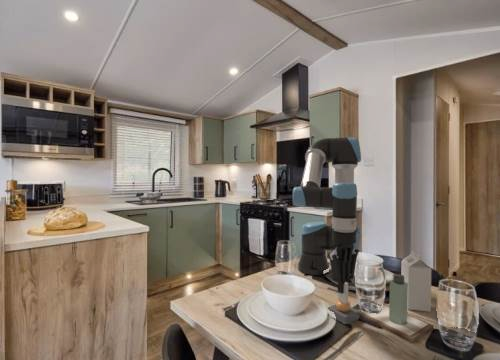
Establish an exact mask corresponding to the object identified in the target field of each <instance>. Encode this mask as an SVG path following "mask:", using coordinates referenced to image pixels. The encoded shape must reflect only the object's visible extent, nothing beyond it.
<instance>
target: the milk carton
mask: <svg viewBox="0 0 500 360" xmlns="http://www.w3.org/2000/svg"><path fill="white" fill-rule="evenodd" d="M421 258H422V257H421V255H419V254H418V253H417V252H415V251H414V250H411V253H410V254H409V255H407V256H406V257H404V258H403V259H402V260H401V261H400V262H401V264H400V265H401V268H400V269H401V272H400V273H401V274H400V275H403V276H404V282H406V283H408V299H407V311H408V310H410V311H419V312H420V311H421V312H432V310H431V309H432V307H431V306H432V302H431V301H432V268H431V266H429V265H428V264H427V263H425V262H424V261H423V260H422V259H421Z"/></svg>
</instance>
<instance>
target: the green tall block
mask: <svg viewBox="0 0 500 360" xmlns="http://www.w3.org/2000/svg"><path fill="white" fill-rule="evenodd" d="M392 276H393V277H392V280H390V281H389V304H388V306H389V320H392V321H394V322H396V323H398V324H400V325H402V324H403V323H405V322H407V314H408V309H407V299H408V283H406V282H404V276H403V275H401V274H399V273H394V274H393V275H392Z"/></svg>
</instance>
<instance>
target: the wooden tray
mask: <svg viewBox="0 0 500 360" xmlns="http://www.w3.org/2000/svg"><path fill="white" fill-rule="evenodd" d="M360 309H361V308H360ZM360 309H357V310H358V311H359V315H360V316H362V317H364V318H366V319H368V320H369V321H368V320H367V321H368V322H370V321H371V322H370V323H372V324H374V325H375V324H376V326H377V325H378V326H377V327H379V326H380V328H381V329H384V330H385V331H387V332H389V333H391V334H393V335H395V336H398V337H400V338H401V339H403V340H405V341H406V342H409V343H411V344H413V343H414V342H416V341H417V340H419V339H420V338H422V337H423V336H425V335H426V334H428V333H430V332H431V331H432V330H434V325H433V324H431V323H430V322H426V321H425V320H422V319H420V318H417V317H415V316H413V315H411V314H408V313H407V322H405V323H403V324H402V325H400V324H398V323H396V322H394V321H392V320H389V305H387V304H385V303H383V308H382V310H381V312H380V313H379V314H376V313H368V312H362V311H361V310H360ZM360 316H359V317H360ZM362 317H361V318H362ZM364 318H363V319H364ZM366 319H365V320H366Z"/></svg>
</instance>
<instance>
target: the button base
mask: <svg viewBox="0 0 500 360" xmlns="http://www.w3.org/2000/svg"><path fill="white" fill-rule="evenodd" d="M327 308H328V309H329V310H330V311H332V312H334V314H335V316H336V319H337V320H338V321H340V322H342V323H344V324H347V325H349V324H351V323H353V322H355V321H358V320H359V319H360V316H359V311H358V310H359V309H355V308H354V307H352V306H350V311H348V312H342V311H339V310H337V309H336V304H333V305H331V306H327ZM337 320H336V321H337ZM338 321H337V322H338ZM340 322H339V323H340ZM342 323H341V324H342ZM344 324H343V325H344Z"/></svg>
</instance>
